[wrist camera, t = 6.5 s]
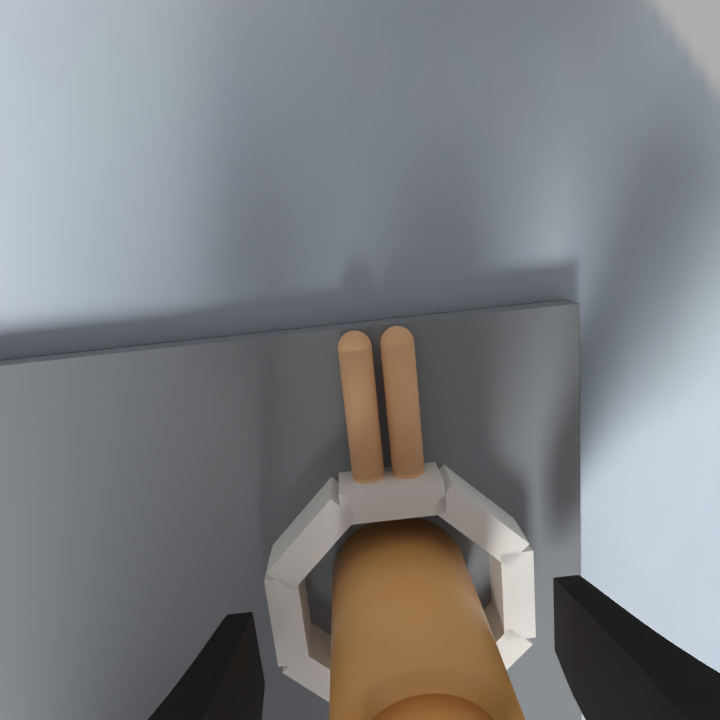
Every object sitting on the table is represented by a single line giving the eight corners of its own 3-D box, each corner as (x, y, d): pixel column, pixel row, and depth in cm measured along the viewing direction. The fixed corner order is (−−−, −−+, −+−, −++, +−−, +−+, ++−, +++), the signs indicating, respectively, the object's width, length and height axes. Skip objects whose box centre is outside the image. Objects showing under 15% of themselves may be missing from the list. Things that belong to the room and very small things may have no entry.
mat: (570, 737, 17) (601, 803, 15) (-60, 810, 16) (-114, 887, 14) (565, 299, 13) (603, 310, 11) (-220, 384, 13) (-317, 409, 11)
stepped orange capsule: (468, 624, 15) (566, 921, 8) (340, 639, 15) (340, 948, 8) (461, 508, 14) (564, 741, 7) (324, 523, 14) (311, 770, 7)
